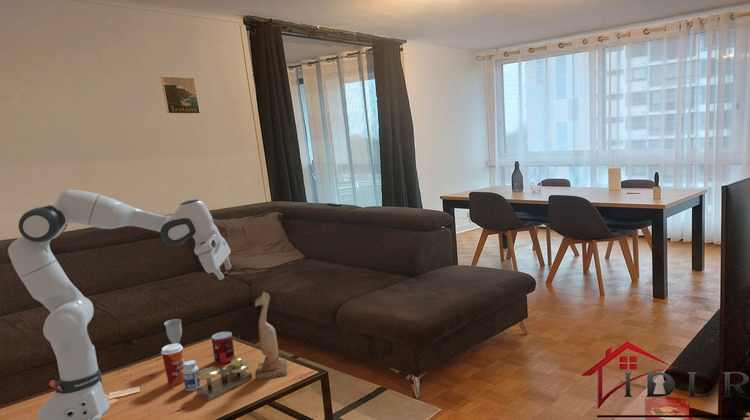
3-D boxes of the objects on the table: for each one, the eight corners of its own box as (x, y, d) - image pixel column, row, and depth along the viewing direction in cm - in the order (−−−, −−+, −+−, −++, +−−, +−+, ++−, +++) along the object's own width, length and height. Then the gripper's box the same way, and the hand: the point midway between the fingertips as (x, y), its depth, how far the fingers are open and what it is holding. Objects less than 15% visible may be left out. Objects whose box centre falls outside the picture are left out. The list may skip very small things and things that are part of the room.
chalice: (169, 362, 202) (163, 321, 200) (187, 358, 205) (181, 317, 202) (170, 369, 195) (164, 326, 193) (188, 364, 198) (182, 322, 196)
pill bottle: (195, 382, 182) (191, 358, 180) (203, 385, 179) (200, 360, 177) (182, 389, 177) (178, 364, 176) (191, 392, 174) (187, 367, 173)
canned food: (214, 358, 202) (211, 333, 200) (234, 354, 204) (231, 329, 203) (214, 366, 195) (211, 340, 193) (235, 362, 197) (232, 336, 196)
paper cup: (179, 387, 179) (174, 351, 177) (161, 386, 181) (155, 351, 179) (191, 377, 187) (186, 342, 185) (173, 376, 188) (168, 342, 186)
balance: (206, 401, 167) (203, 379, 166) (194, 395, 172) (191, 374, 171) (254, 377, 182) (252, 357, 181) (241, 372, 187) (239, 352, 186)
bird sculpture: (256, 369, 190) (244, 290, 185) (287, 362, 193) (275, 285, 188) (257, 382, 179) (244, 299, 174) (289, 374, 182) (277, 293, 177)
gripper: (210, 234, 187) (225, 266, 190) (192, 253, 167) (209, 287, 170) (225, 229, 186) (240, 260, 190) (208, 246, 166) (226, 281, 170)
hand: (225, 273), depth 180 cm, fingers open, 8 cm apart
